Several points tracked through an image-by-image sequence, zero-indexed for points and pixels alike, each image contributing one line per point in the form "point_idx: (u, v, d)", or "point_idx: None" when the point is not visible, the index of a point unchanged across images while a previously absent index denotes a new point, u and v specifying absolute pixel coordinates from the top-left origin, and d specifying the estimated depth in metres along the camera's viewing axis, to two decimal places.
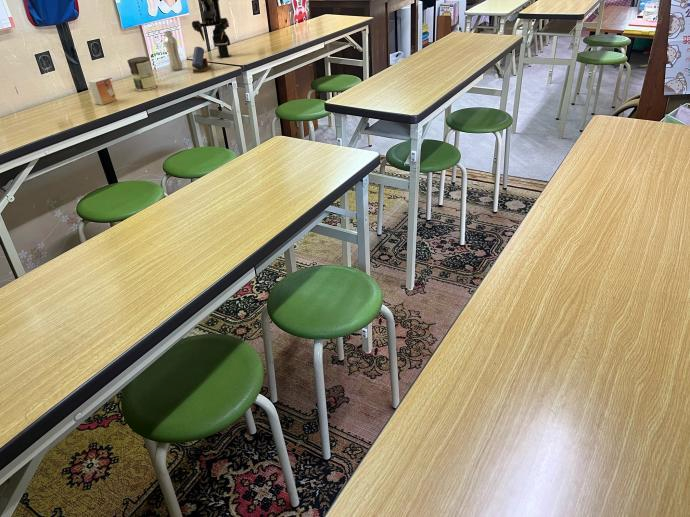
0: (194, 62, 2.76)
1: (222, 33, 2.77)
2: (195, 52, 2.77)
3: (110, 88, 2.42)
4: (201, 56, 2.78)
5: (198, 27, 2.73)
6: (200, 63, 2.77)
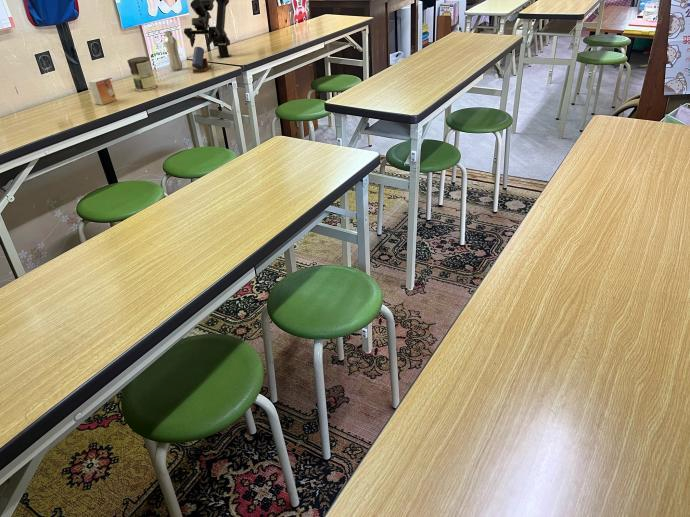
0: (194, 62, 2.76)
1: (210, 41, 2.80)
2: (195, 52, 2.77)
3: (110, 88, 2.42)
4: (201, 56, 2.78)
5: (188, 33, 2.81)
6: (200, 63, 2.77)
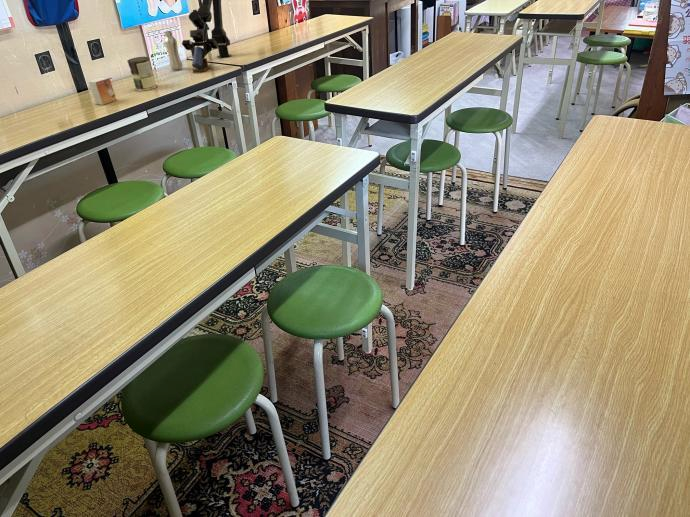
0: (194, 62, 2.76)
1: (205, 53, 2.79)
2: (195, 52, 2.77)
3: (110, 88, 2.42)
4: (201, 56, 2.78)
5: (190, 45, 2.79)
6: (200, 63, 2.77)
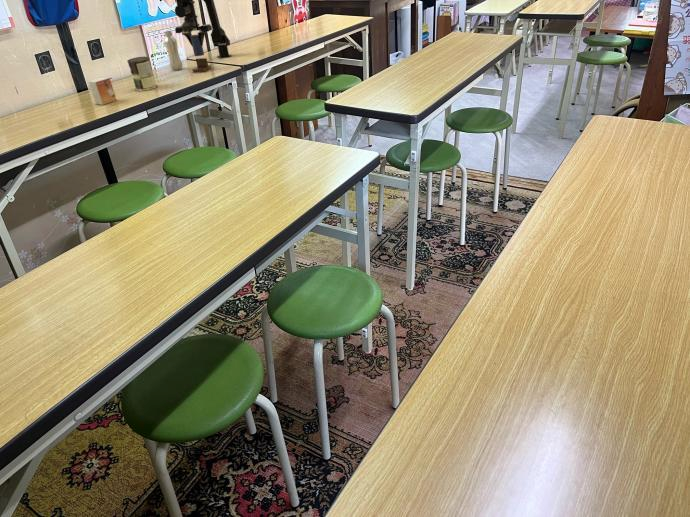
0: (196, 54, 2.78)
1: (202, 39, 2.76)
2: (193, 43, 2.75)
3: (110, 88, 2.42)
4: (200, 45, 2.77)
5: (185, 34, 2.73)
6: (202, 53, 2.79)
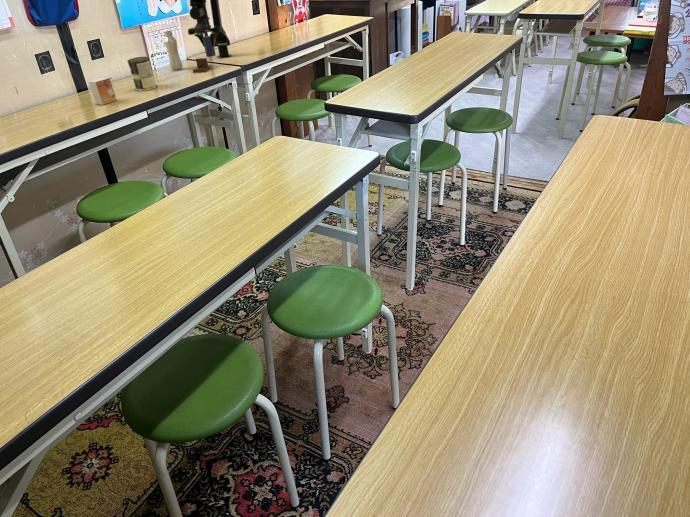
0: (208, 55, 2.87)
1: (214, 40, 2.84)
2: (205, 44, 2.84)
3: (110, 88, 2.42)
4: (212, 46, 2.85)
5: (197, 36, 2.82)
6: (214, 54, 2.88)
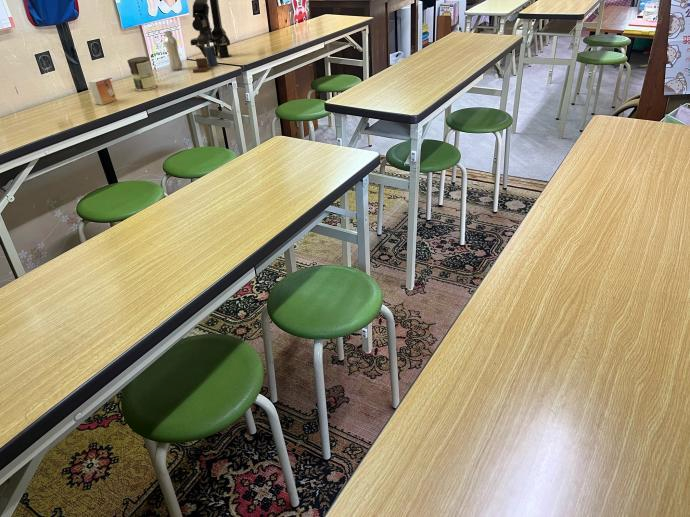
0: None
1: (217, 51, 2.87)
2: (207, 54, 2.87)
3: (110, 88, 2.42)
4: (214, 56, 2.88)
5: (198, 46, 2.85)
6: (216, 63, 2.90)
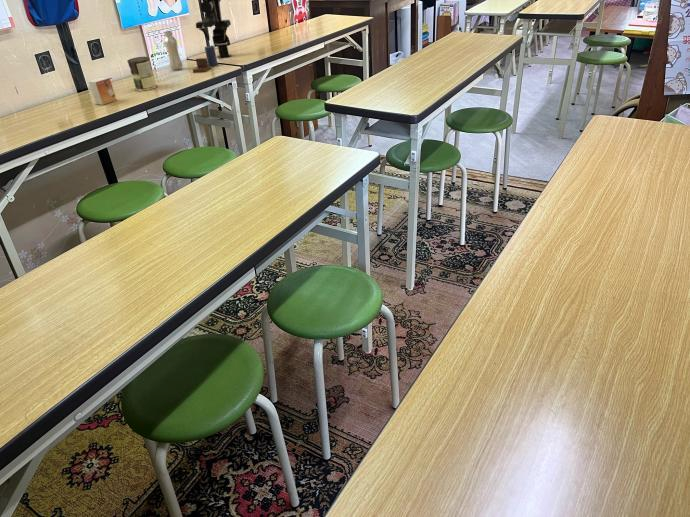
0: None
1: (224, 34, 2.89)
2: (207, 54, 2.87)
3: (110, 88, 2.42)
4: (214, 56, 2.88)
5: (202, 29, 2.87)
6: (216, 63, 2.90)
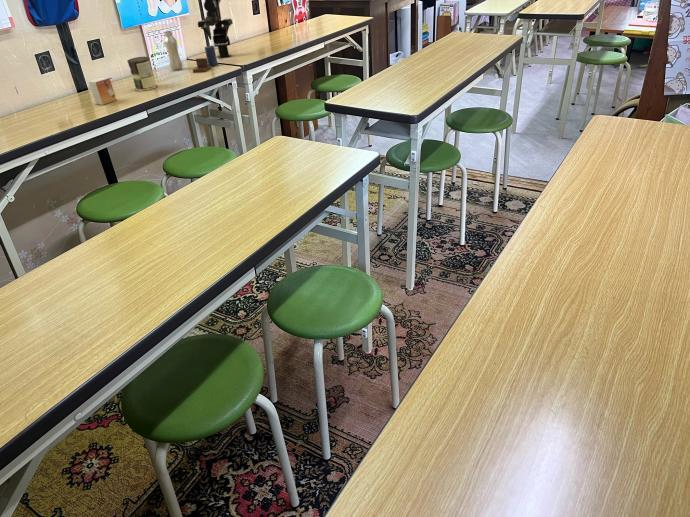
0: None
1: (226, 33, 2.90)
2: (207, 54, 2.87)
3: (110, 88, 2.42)
4: (214, 56, 2.88)
5: (204, 28, 2.88)
6: (216, 63, 2.90)
